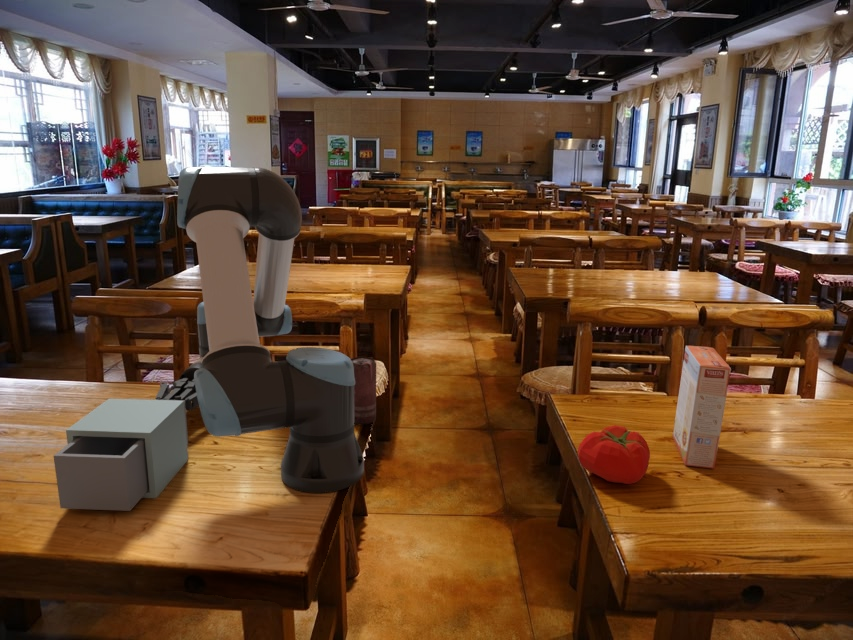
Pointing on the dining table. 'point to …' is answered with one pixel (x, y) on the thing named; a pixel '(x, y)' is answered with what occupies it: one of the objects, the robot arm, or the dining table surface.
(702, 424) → the cracker box
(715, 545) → the dining table surface
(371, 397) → the can
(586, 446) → the tomato
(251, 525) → the dining table surface
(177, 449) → the sleeve
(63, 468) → the tray
